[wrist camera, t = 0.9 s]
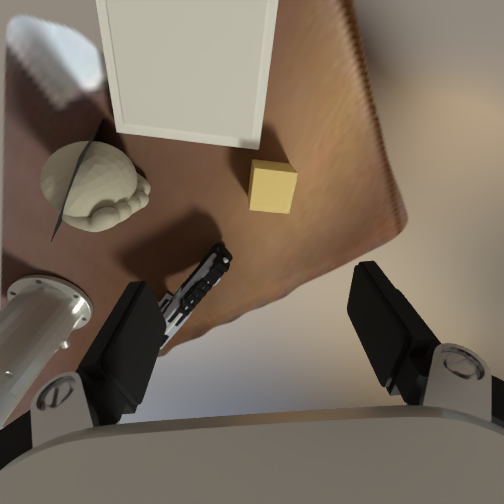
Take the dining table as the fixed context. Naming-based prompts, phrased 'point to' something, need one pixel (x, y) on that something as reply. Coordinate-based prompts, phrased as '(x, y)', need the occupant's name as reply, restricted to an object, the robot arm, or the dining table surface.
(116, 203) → the decorative object
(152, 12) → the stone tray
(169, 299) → the toy gun
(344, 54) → the dining table surface
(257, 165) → the mustard cube
